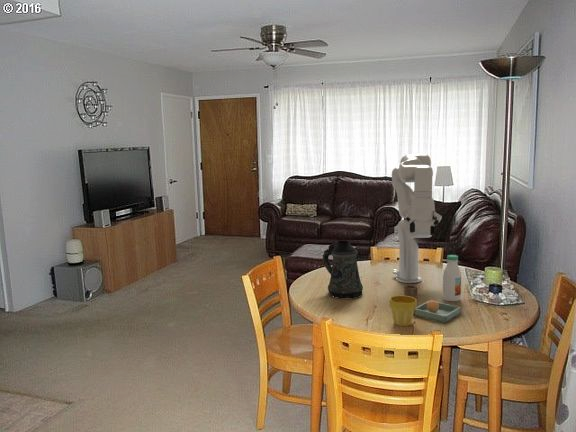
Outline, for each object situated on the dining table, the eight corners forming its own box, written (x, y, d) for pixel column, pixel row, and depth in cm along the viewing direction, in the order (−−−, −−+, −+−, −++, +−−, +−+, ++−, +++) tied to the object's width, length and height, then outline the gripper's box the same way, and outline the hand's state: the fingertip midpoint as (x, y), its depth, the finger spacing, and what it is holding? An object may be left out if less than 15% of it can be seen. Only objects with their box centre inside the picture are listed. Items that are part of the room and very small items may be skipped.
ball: (429, 316, 197) (421, 306, 199) (435, 312, 200) (427, 303, 202) (437, 309, 194) (429, 299, 196) (443, 306, 197) (435, 296, 199)
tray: (413, 315, 197) (413, 308, 197) (429, 306, 207) (429, 300, 207) (445, 323, 187) (445, 316, 187) (460, 313, 197) (461, 307, 197)
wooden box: (404, 302, 213) (404, 287, 212) (408, 300, 216) (408, 284, 215) (412, 304, 210) (412, 288, 209) (417, 301, 213) (417, 286, 212)
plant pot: (412, 317, 194) (412, 294, 193) (419, 327, 184) (420, 302, 183) (386, 318, 194) (386, 295, 193) (393, 328, 184) (393, 303, 182)
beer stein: (362, 299, 218) (361, 246, 214) (319, 298, 222) (318, 245, 218) (363, 289, 234) (363, 238, 230) (324, 287, 238) (323, 238, 234)
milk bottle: (449, 302, 211) (450, 258, 208) (439, 297, 218) (440, 254, 215) (464, 300, 213) (465, 256, 210) (453, 295, 220) (455, 253, 217)
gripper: (401, 194, 212) (400, 232, 215) (437, 196, 200) (436, 237, 203) (409, 193, 218) (409, 230, 220) (445, 195, 206) (444, 234, 208)
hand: (422, 233), depth 212 cm, fingers open, 9 cm apart
